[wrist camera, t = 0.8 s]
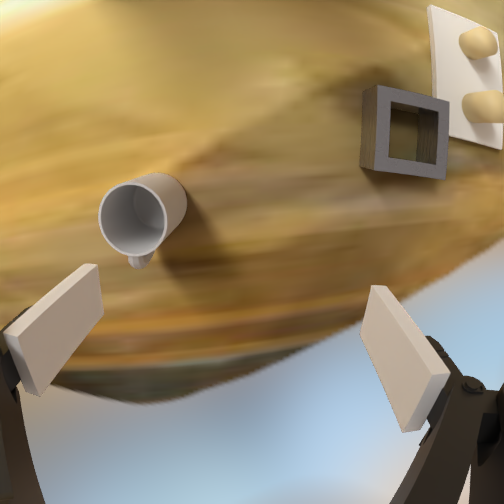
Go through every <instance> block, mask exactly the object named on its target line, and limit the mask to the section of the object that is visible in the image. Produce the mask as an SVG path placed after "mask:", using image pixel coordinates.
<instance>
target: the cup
mask: <svg viewBox="0 0 504 504" xmlns="http://www.w3.org/2000/svg"><path fill="white" fill-rule="evenodd" d="M186 209H187V198H186V194H185V191H184V189H183V187H182V185H181V184H180V183H179V182H178V181H177V180H176V179H175V178H173V177H171V176H170V175H167V174H164V173H151V174H148V175H144V176H141V177H138V178H135V179H132V180H129V181H126V182H123V183H121V184H118V185H116V186H114V187H113V188H111V189H110V190H109V191H108V192H107V193H106V195H105V196H104V197H103V199H102V202H101V204H100V208H99V213H98V217H99V226H100V229H101V232H102V234H103V236H104V238H105V239H106V241H107V242H108V243H109V244H110V245H111V246H112V247H113V248H114V249H115V250H117V251H118V252H120V253H122V254H125V255H128V258H129V263H130V265H131V266H132V267H134V268H135V269H141V268H144V267H145V266H146V265H147V264H148V263H149V262H150V260H151V258H152V256H153V254H154V252H155V249H156V248H157V247H158V246H159V245H160V244H161V243H162V242H163V241H164V240H165V239H166V238H167V237H168V235H169V234H170V233H171V232H172V231H173V230H174V229H175V228H176V227H177V226H178V225H179V224H180V222H181V221H182V219H183V217H184V216H185V213H186Z"/></svg>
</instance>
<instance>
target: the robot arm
mask: <svg viewBox="0 0 504 504" xmlns="http://www.w3.org/2000/svg"><path fill="white" fill-rule="evenodd" d="M103 315H104V310H103V303H102V296H101V289H100V281H99V273H98V265H96V264H86V263H85V264H83V265H82V266H81V267H79V268H78V269H77V270H76V271H74V272H73V273H72V274H71V275H69V276H68V277H67V278H66V279H64V280H63V281H62V282H61V283H59V284H58V285H57V286H56V287H54V288H53V289H52V290H51V291H50V292H48V293H47V294H46V295H45V296H44V297H42V298H41V299H40V300H39V301H38V302H37V303H35V304H34V305H32V306H30V307H28V308H26V309H24V310H23V311H22V312H21V313H20V314H19V315H18V316H16V317H15V318H14V319H13V321H11V322H9V323H8V324H7V325H6V326H5V327H4V328H3V329H2V330H1V331H0V504H45V501H44V498H43V495H42V492H41V489H40V486H39V482H38V479H37V476H36V472H35V469H34V465H33V461H32V457H31V453H30V449H29V445H28V440H27V436H26V431H25V426H24V420H23V415H22V409H21V402H20V395H19V391H18V389H17V387H16V385H17V384H18V383H19V382H20V380H21V382H22V384H23V386H24V389H25V391H26V392H28V393H31V394H33V395H36V396H39V397H41V395H42V394H43V392H44V391H45V390H46V388H47V387H48V386H49V384H50V383H51V381H52V380H53V379H54V377H55V376H56V375H57V373H58V372H59V371H60V369H61V368H62V367H63V365H64V364H65V363H66V361H67V360H68V359H69V358H70V356H71V355H72V354H73V352H74V351H75V350H76V348H77V347H78V346H79V345H80V343H81V342H82V341H83V340H84V338H85V337H86V336H87V334H88V333H89V332H90V331H91V329H92V328H93V327H94V326H95V325H96V323H97V322H98V321H99V320H100V318H101V317H102V316H103ZM360 336H361V339H362V341H363V343H364V345H365V347H366V350H367V352H368V354H369V356H370V358H371V360H372V363H373V365H374V367H375V369H376V372H377V374H378V376H379V378H380V381H381V383H382V385H383V388H384V390H385V392H386V395H387V397H388V399H389V402H390V404H391V406H392V409H393V411H394V413H395V416H396V418H397V421H398V423H399V426H400V428H401V431H402V433H404V432H410V431H417V430H420V429H421V428H422V426H423V424H424V422H425V421H426V419H427V420H428V422H429V424H430V428H429V429H428V431H427V433H426V434H425V436H424V438H423V439H422V441H421V442H420V444H419V446H420V448H419V450H418V452H417V454H416V456H415V458H414V461H413V462H412V464H411V466H410V468H409V470H408V472H407V474H406V476H405V478H404V479H403V481H402V483H401V485H400V487H399V488H398V490H397V492H396V493H395V495H394V497H393V499H392V500H391V502H390V504H457V503H458V500H459V497H460V495H461V492H462V489H463V486H464V483H465V480H466V477H467V474H468V471H469V467H470V464H471V476H470V495H469V504H504V383H503V385H502V387H501V388H500V390H499V391H494V390H486V388H485V386H484V385H483V383H482V382H480V381H479V380H478V379H476V378H474V377H470V376H463V375H462V373H461V372H460V371H459V369H458V368H457V366H456V365H455V364H454V362H453V361H452V360H451V358H450V357H448V356H449V355H448V354H447V353H446V352H445V351H444V349H443V347H442V346H441V345H440V344H439V342H437V341H436V340H435V339H433V338H432V337H431V336H424V335H423V333H422V332H421V331H420V329H419V328H418V326H417V325H416V324H415V323H414V321H413V320H412V319H411V317H410V316H409V315H408V313H407V312H406V311H405V309H404V308H403V307H402V306H401V304H400V303H399V302H398V300H397V299H396V298H395V297H394V295H393V294H392V293H391V292H390V290H389V289H388V288H387V287H386V286H380V285H371V290H370V294H369V298H368V303H367V307H366V311H365V315H364V319H363V323H362V327H361V331H360Z"/></svg>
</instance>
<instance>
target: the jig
mask: <svg viewBox="0 0 504 504" xmlns="http://www.w3.org/2000/svg"><path fill="white" fill-rule="evenodd" d="M427 15H428V24H429V34H430V47H431V65H432V97H434V98H438V99H442V100H445V101H449V102H450V111H449V136H450V137H454V138H458V139H462V140H466V141H470V142H474V143H477V144H481V145H484V146H488V147H491V148H495V149H499V150H502V140H503V123H504V95H503V88H502V72H501V60H500V51H499V43H498V35H497V33H496V32H494V31H492V30H490V29H488V28H486V27H484V26H482V25H480V24H477V23H475V22H473V21H471V20H469V19H466V18H464V17H462V16H459V15H457V14H454V13H452V12H449V11H447V10H444V9H442V8H439V7H436V6H433V5H429V6H428V7H427Z"/></svg>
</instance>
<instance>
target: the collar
mask: <svg viewBox="0 0 504 504" xmlns="http://www.w3.org/2000/svg"><path fill="white" fill-rule="evenodd" d="M391 108H392V109H397V110H402V111H407V112H412V113H417V114H419V117H418V140H417V156H416V161H411V160H405V159H398V158H391V157H388V153H389V136H390V111H391ZM449 111H450V102H449V101H445V100H442V99H438V98H434V97H430V96H427V95H423V94H418V93H414V92H410V91H405V90H401V89H396V88H391V87H386V86H381V85H376V86H374V87H372V88H369V89H367V90H365V91H363V105H362V133H361V151H360V167H364V168H368V169H371V170H376V171H384V172H393V173H400V174H408V175H415V176H422V177H429V178H435V179H441V180H445V178H446V168H447V156H448V140H449Z"/></svg>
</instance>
